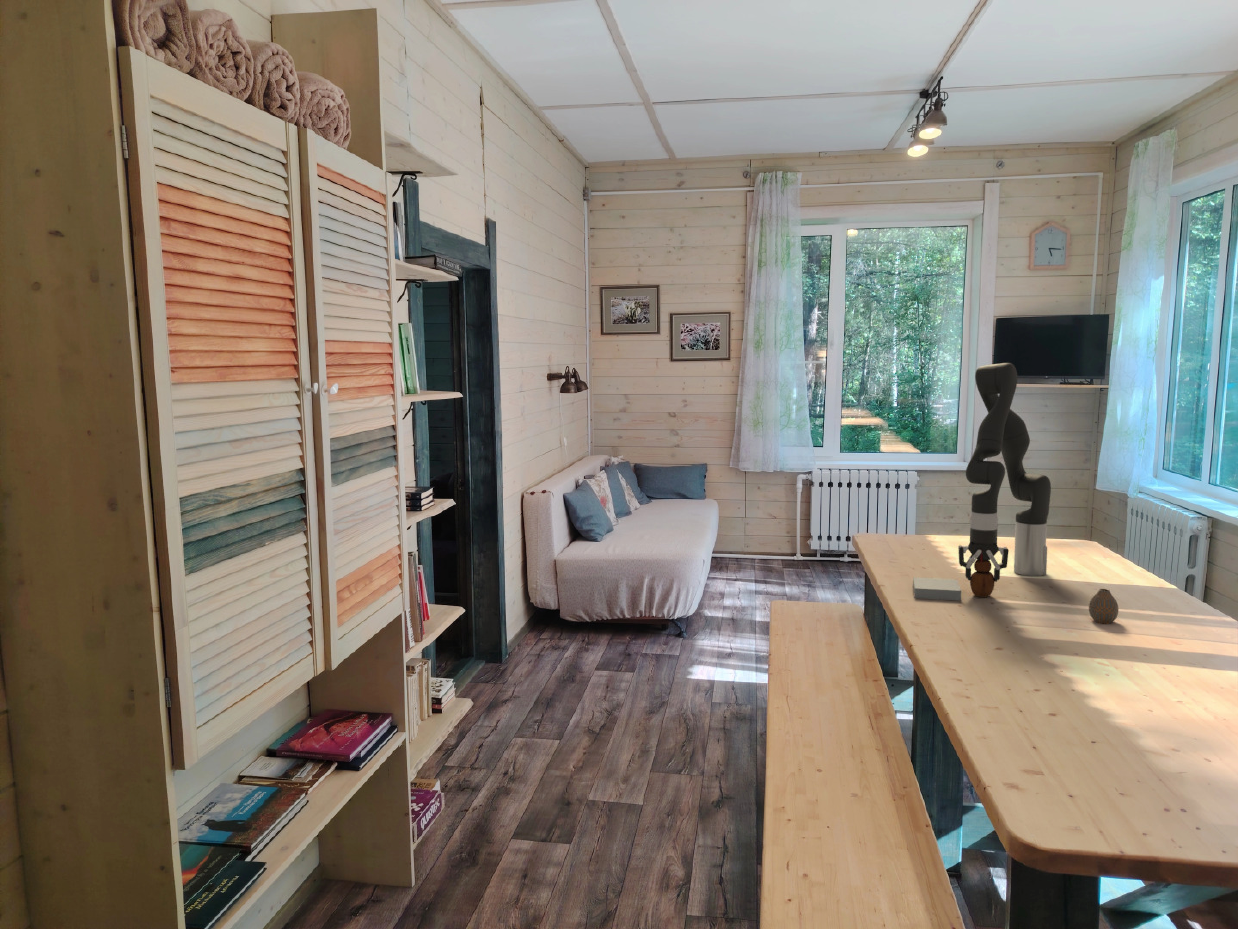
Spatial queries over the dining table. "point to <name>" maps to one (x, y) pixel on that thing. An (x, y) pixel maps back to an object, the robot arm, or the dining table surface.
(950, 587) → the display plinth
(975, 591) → the wooden figurine
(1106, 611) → the vase
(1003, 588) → the dining table surface
